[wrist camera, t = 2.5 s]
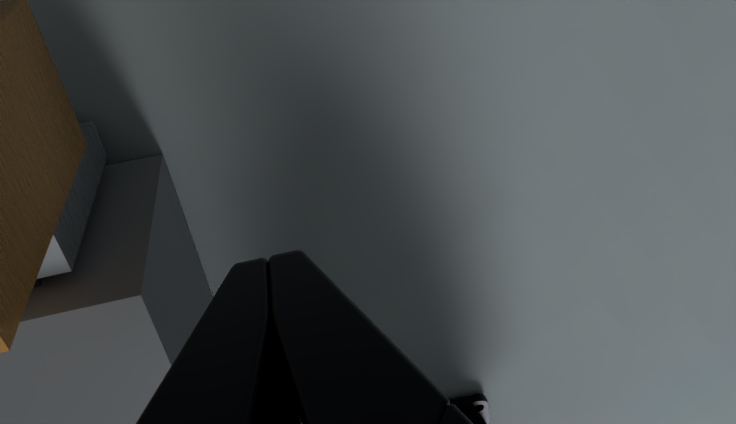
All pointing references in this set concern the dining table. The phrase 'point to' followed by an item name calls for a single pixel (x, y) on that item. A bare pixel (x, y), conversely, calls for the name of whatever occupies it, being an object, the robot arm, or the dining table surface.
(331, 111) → the dining table surface
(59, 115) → the orange and silver box
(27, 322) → the camera housing
